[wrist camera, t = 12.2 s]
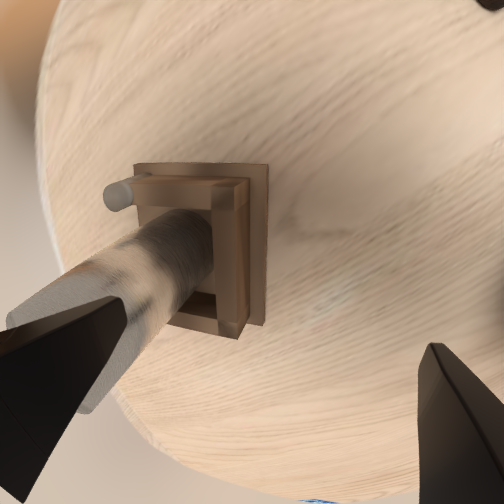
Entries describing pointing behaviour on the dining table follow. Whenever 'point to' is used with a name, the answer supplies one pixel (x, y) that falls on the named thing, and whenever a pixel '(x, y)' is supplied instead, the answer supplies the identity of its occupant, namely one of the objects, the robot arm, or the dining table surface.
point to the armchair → (223, 231)
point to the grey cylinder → (132, 286)
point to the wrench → (493, 4)
